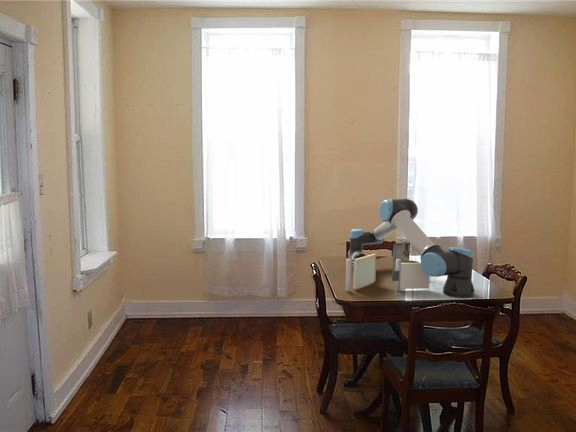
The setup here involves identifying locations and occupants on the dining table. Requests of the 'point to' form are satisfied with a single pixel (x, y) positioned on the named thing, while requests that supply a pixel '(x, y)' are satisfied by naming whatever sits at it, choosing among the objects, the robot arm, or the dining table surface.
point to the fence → (400, 276)
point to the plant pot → (409, 261)
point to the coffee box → (400, 252)
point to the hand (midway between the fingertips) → (370, 268)
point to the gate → (364, 271)
